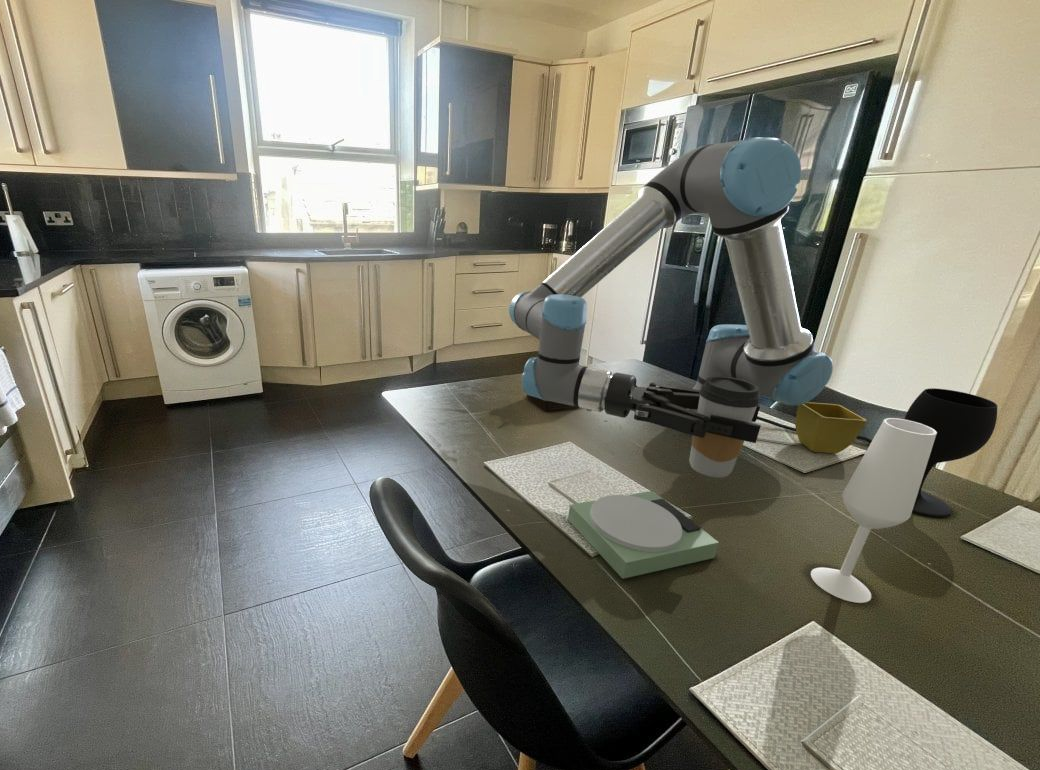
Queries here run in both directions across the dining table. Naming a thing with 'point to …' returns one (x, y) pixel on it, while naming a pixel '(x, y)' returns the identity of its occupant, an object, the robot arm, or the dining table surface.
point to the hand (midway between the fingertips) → (757, 423)
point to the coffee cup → (730, 402)
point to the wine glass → (950, 434)
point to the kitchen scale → (641, 533)
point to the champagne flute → (880, 496)
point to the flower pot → (827, 427)
